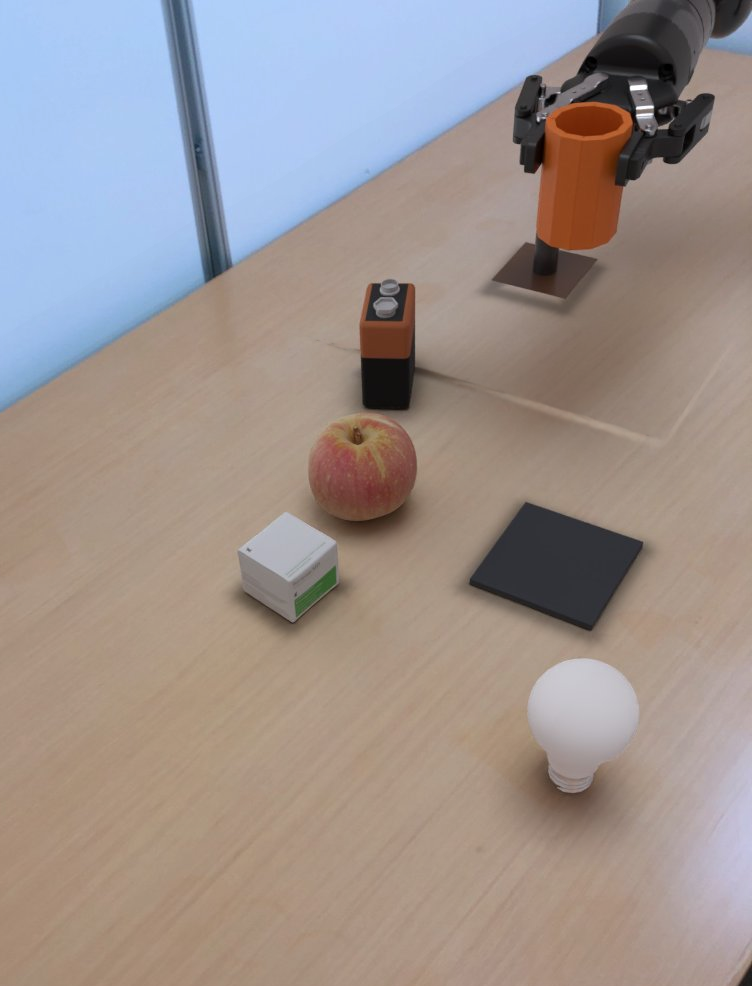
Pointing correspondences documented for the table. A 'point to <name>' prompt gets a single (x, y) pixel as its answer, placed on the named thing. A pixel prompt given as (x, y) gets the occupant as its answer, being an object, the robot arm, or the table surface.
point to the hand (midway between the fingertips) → (575, 166)
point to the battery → (387, 344)
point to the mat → (557, 565)
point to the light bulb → (581, 719)
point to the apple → (362, 466)
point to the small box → (289, 566)
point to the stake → (545, 269)
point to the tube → (581, 175)
